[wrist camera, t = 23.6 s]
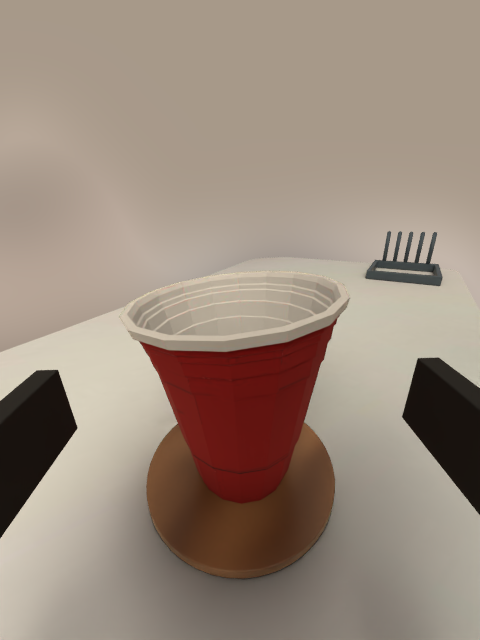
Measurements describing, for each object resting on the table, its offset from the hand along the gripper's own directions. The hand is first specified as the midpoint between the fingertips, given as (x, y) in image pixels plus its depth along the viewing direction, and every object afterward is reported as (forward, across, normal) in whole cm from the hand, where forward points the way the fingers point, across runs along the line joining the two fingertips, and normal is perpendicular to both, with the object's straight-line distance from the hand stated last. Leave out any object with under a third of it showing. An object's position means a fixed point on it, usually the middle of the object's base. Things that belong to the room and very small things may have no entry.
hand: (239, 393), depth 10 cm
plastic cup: (+5, 0, -9) cm, 10 cm away
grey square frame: (+54, +39, -10) cm, 68 cm away
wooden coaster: (+5, 0, -10) cm, 11 cm away
